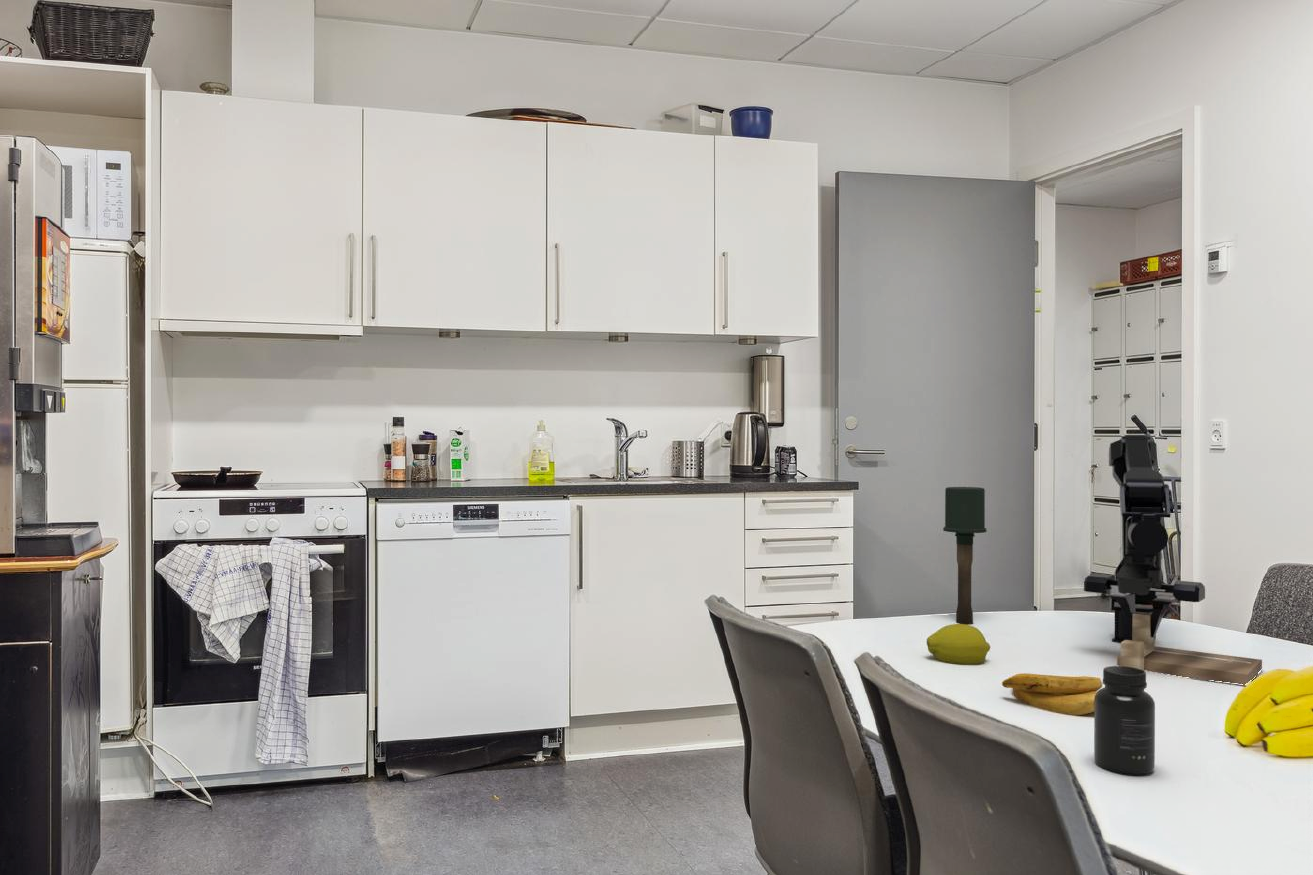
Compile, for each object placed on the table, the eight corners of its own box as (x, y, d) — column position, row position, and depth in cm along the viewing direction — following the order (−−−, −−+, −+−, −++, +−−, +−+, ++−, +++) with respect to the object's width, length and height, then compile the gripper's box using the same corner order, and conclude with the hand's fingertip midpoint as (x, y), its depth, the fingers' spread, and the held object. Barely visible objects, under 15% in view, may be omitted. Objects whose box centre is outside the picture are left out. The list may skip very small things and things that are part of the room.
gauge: (1120, 671, 172) (1120, 619, 172) (1140, 658, 183) (1141, 608, 183) (1139, 674, 170) (1139, 621, 170) (1158, 660, 181) (1159, 610, 181)
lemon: (987, 666, 178) (987, 621, 178) (994, 676, 170) (994, 629, 170) (924, 663, 179) (924, 618, 179) (928, 673, 172) (928, 627, 172)
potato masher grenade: (986, 630, 210) (986, 487, 210) (985, 638, 202) (986, 489, 201) (944, 627, 212) (944, 486, 212) (941, 635, 204) (942, 488, 204)
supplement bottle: (1083, 758, 127) (1083, 664, 127) (1135, 757, 128) (1135, 663, 128) (1112, 777, 120) (1113, 677, 120) (1166, 775, 121) (1167, 676, 121)
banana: (1151, 723, 143) (1151, 683, 143) (1015, 720, 145) (1015, 680, 145) (1111, 696, 159) (1111, 660, 159) (988, 693, 160) (988, 657, 160)
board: (1117, 668, 176) (1117, 656, 176) (1137, 654, 187) (1138, 643, 187) (1247, 686, 163) (1247, 673, 163) (1262, 671, 174) (1262, 659, 174)
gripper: (1074, 548, 178) (1074, 636, 178) (1191, 556, 166) (1191, 650, 166) (1093, 542, 186) (1093, 626, 186) (1206, 550, 174) (1205, 640, 174)
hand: (1143, 635), depth 178 cm, fingers closed on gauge, 3 cm apart
